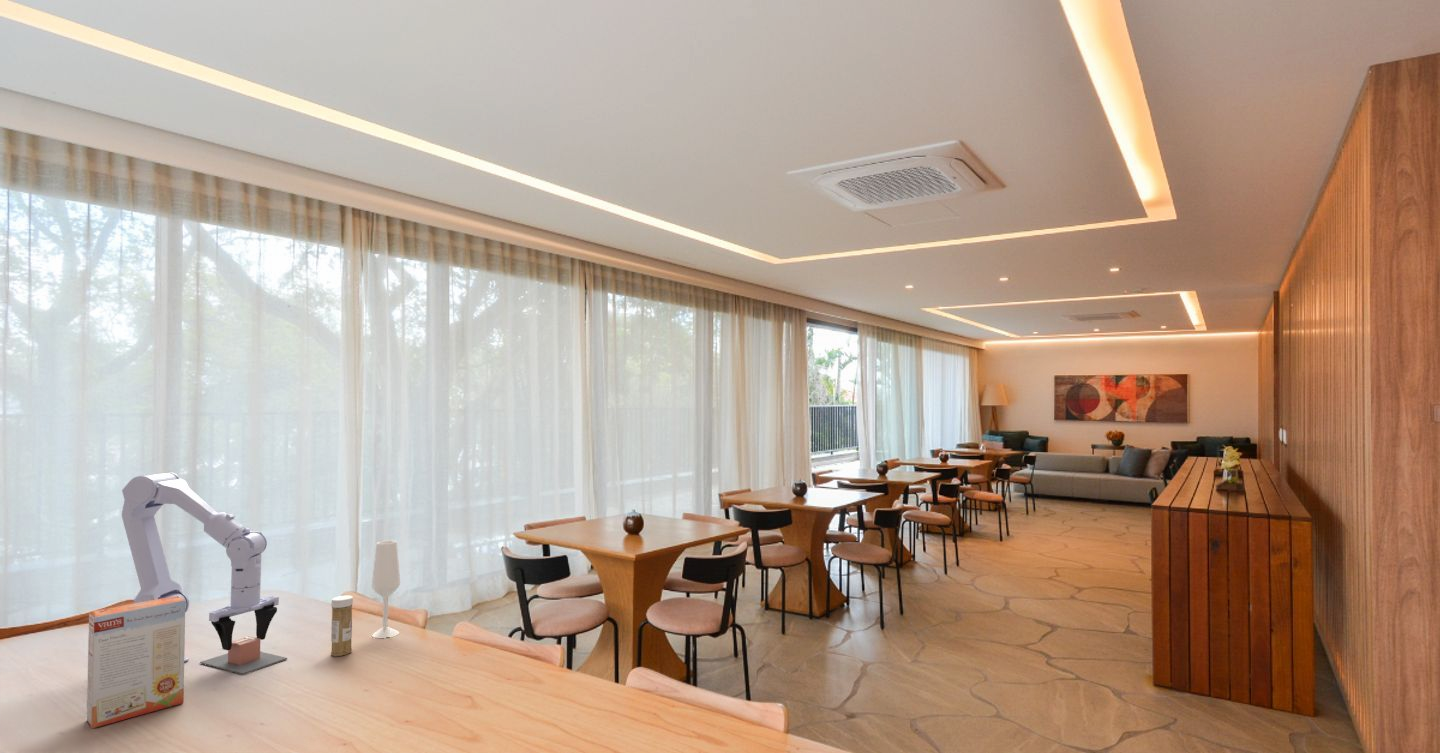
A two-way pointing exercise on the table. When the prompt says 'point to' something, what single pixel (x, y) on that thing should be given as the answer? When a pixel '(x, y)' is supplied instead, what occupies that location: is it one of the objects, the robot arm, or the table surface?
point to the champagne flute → (386, 580)
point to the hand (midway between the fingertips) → (244, 644)
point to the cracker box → (135, 659)
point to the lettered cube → (244, 650)
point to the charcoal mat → (247, 667)
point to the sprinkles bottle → (341, 625)
